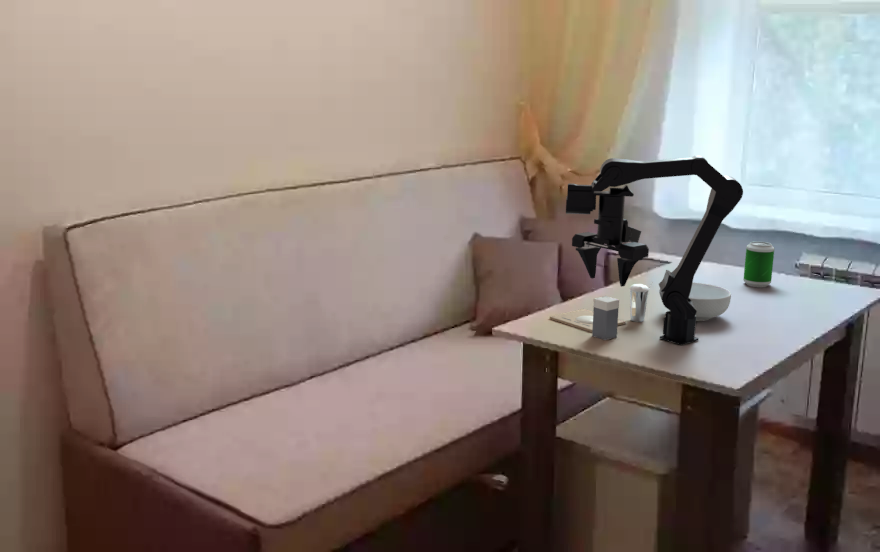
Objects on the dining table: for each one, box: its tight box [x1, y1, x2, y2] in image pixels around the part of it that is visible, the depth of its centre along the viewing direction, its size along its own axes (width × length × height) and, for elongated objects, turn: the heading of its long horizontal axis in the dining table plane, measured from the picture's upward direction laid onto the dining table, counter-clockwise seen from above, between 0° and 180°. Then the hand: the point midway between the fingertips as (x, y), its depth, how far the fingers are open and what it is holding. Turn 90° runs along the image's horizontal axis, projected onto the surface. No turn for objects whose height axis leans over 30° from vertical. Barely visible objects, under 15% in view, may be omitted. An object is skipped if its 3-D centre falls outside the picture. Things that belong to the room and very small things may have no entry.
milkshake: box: [629, 281, 654, 323], centre depth 235 cm, size 4×5×10 cm
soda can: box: [742, 241, 775, 288], centre depth 272 cm, size 8×8×12 cm
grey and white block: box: [591, 295, 620, 341], centre depth 222 cm, size 4×4×9 cm
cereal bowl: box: [689, 282, 732, 322], centre depth 240 cm, size 17×17×7 cm
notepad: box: [549, 308, 626, 333], centre depth 235 cm, size 14×12×1 cm
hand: (607, 282), depth 221 cm, fingers open, 9 cm apart
